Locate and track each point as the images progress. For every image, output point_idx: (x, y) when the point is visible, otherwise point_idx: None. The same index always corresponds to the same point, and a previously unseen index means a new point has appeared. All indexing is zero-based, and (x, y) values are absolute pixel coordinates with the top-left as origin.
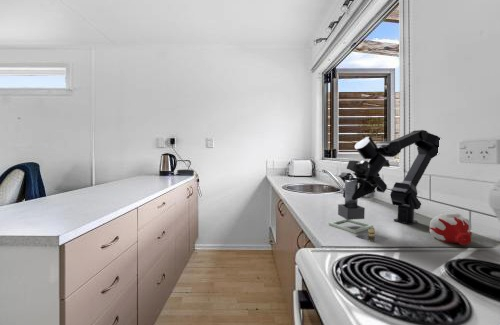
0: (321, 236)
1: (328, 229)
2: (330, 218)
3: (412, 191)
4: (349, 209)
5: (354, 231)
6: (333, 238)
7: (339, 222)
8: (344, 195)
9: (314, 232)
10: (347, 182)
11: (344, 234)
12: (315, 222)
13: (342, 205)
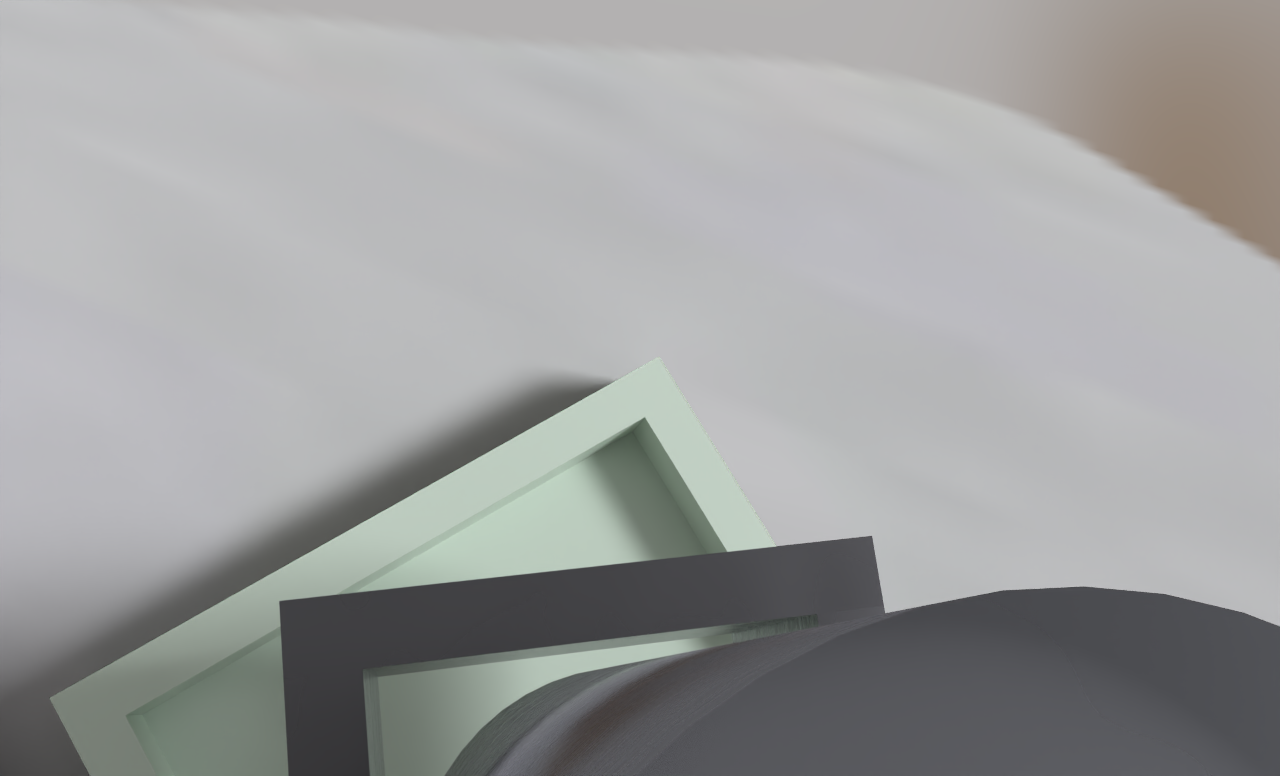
0: (143, 61)
1: (520, 332)
2: None
3: None
4: (283, 669)
5: (69, 690)
6: (7, 221)
7: None
8: None
9: (369, 25)
10: (756, 669)
11: (197, 520)
12: (953, 252)
13: (725, 616)
